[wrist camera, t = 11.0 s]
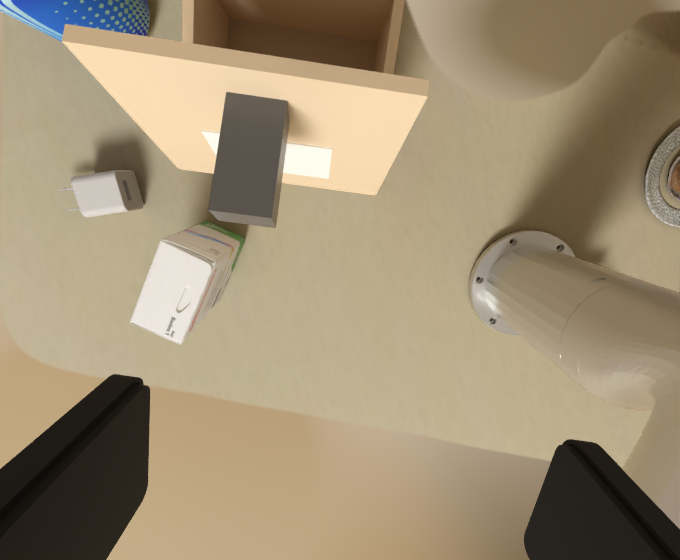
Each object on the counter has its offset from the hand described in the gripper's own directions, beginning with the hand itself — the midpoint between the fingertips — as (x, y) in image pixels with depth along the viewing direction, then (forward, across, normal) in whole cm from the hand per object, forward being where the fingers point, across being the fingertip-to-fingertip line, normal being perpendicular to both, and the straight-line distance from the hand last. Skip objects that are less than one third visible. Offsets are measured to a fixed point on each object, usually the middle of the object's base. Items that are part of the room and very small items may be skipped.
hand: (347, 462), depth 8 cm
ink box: (+34, +14, +5) cm, 38 cm away
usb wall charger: (+34, +26, 0) cm, 43 cm away
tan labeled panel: (+18, +6, -8) cm, 21 cm away
